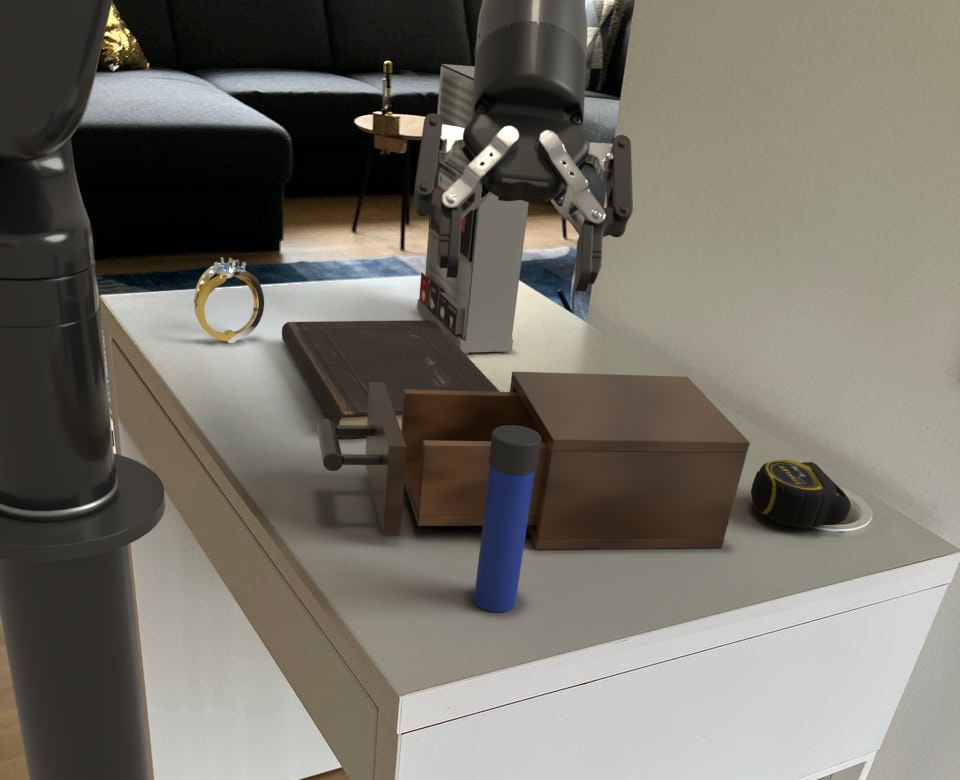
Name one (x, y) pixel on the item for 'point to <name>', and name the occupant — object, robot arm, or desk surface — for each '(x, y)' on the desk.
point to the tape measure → (798, 495)
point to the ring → (207, 287)
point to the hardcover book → (377, 363)
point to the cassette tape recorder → (473, 246)
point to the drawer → (432, 453)
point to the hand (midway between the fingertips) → (518, 278)
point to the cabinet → (631, 461)
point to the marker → (506, 515)
